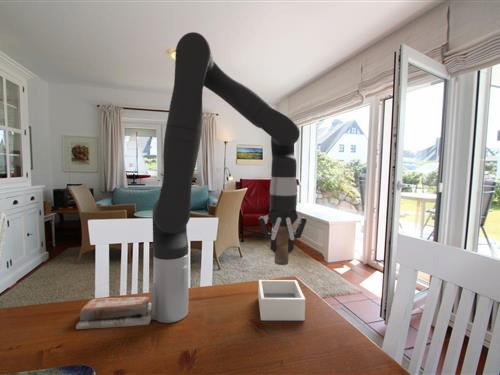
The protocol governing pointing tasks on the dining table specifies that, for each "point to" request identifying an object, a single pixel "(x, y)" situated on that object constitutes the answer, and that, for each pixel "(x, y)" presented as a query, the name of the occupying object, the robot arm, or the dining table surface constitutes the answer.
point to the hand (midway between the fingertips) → (281, 251)
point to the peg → (282, 246)
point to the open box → (281, 300)
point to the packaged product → (115, 312)
